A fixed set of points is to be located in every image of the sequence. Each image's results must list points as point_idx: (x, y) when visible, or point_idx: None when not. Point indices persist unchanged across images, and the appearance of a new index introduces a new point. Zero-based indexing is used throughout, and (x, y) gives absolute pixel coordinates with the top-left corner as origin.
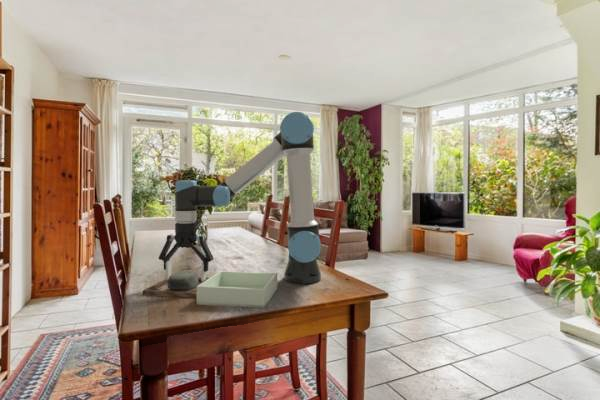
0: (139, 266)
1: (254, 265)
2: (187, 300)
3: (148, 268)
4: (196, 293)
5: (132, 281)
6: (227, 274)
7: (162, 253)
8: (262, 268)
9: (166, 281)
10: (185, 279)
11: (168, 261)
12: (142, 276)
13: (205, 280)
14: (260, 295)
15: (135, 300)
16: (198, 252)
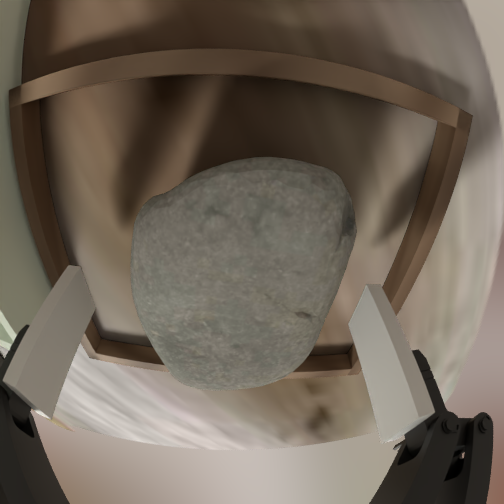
0: None
1: (139, 437)
2: (92, 10)
3: None
4: (41, 77)
5: (483, 313)
6: (4, 328)
7: (479, 472)
8: (102, 421)
9: None
10: (143, 206)
11: (409, 426)
12: (449, 359)
13: None
14: None
15: (446, 9)
16: (13, 499)
